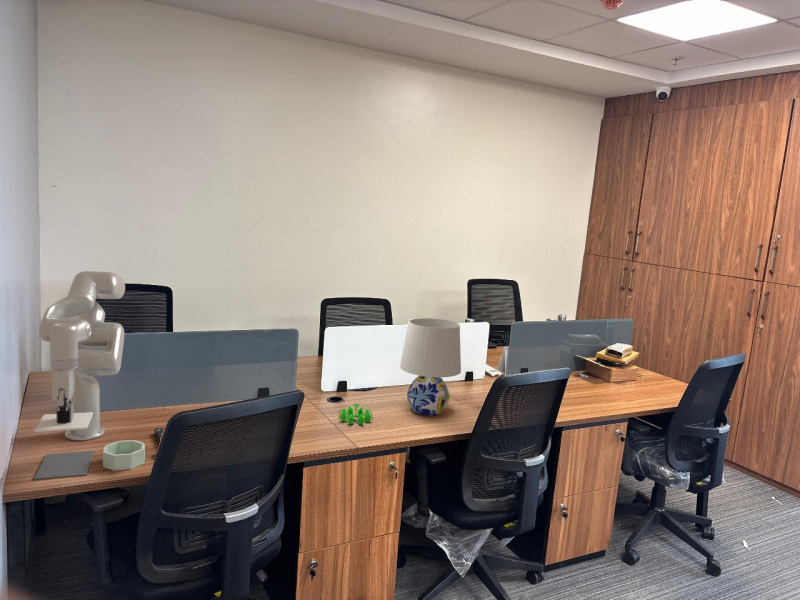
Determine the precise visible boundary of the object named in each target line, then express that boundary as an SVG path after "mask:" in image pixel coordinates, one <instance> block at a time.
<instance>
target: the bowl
mask: <svg viewBox="0 0 800 600" xmlns="http://www.w3.org/2000/svg"><path fill="white" fill-rule="evenodd" d="M145 451H146V442H142V441H138V440H135V439H129V440H116V441H114V442H112V443H110V444H107V445H104V448H103V451H102V467H103V468H104V469H108V470H111V471H115V472H116V471H127V469H129V470H133V469H135V468H137V466H138V467H139V465H140V466H142V465H145V459H146V452H145ZM141 464H142V465H141Z"/></svg>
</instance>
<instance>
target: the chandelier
mask: <svg viewBox="0 0 800 600" xmlns="http://www.w3.org/2000/svg"><path fill="white" fill-rule="evenodd" d="M353 406H354V407H355V413H354V408H353ZM353 406H348V407H347V408H341V409H340V410H339V411H338V420H339V421H340V422H341V421H342V422H347V421H348V422H347V424H348V425H349V426H351V425H354V419H355V418H357V419H358V420H357V422H358V425H361V426H363V425H364V423H369V422H370V423H372V421H373V419H374V417H373V412H372V410H370V409H365V410H363V406H360V404H359V403H354V404H353ZM359 406H360V407H359ZM357 407H359V408H358V409H357ZM364 421H365V422H364Z"/></svg>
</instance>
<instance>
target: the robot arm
mask: <svg viewBox="0 0 800 600" xmlns="http://www.w3.org/2000/svg"><path fill="white" fill-rule="evenodd" d="M125 291H126V284H125V280H124V279H123V277H122V276H120V275H118V274H117V273H115V272H111V271H92V270H91V271H89V270H87V271H86V270H85V271H80V272H78V273H77V274H76V275H75V276H74V278H73V280H72V283H71V285H70V288H69V291H68V293H67V296H66V297H64V298H62V299H60V300H58V301H56V302H55V303H53V304H51V305H50V306H49V307H47V308H46V310H45V312H44V313H43V316H42V318H41V320H40V324H39V328H38V334H39V337H40V339H41V340H42V341H44V342H48V343H49V363H50V365H49V367H50V368H49V369H50V370H51V371H53V373H52V382H51V383H52V384H51V386H52V388H51V390H52V393H51V401H52V402H53V403H55V402H56V401H57V406H58V411H57V413H58V423H68V422H69V421H70V410H68V405H69V403H73V413H87V412H93V415H92V418H91V420H90V423H89V425H88V428H87V429H81V430H65V431H64V437H65V439H68V440H71V441H88V440H93V439H97V438H99V437H101V436H103V435H104V434H105V431H106V429H105V428H104V427H103V426H101V425H100V424H101V421H100V420H101V419H100V417H101V413H100V409H101V408H100V402H101V401H100V400H101V399H100V390H101V389H100V384H99V382H98V380H97V379H96V378H95V377H94V376H114V375H117V374H119V372H120V370H121V366H122V362H123V361H122V359H123V353H124V351H123V350H124V344H125V330H124V327H123V325H122V324H121V323H118V322H111V321H110V322H105V319H106V318H105V317H106V312H105V310H104V308H103V307H102V306H101V305H100V304H99V303H98V302H97V301H96V299H97V300H99V299H101V300H103V299H104V300H118V299H119V300H121V298H123V296H124V295H125ZM74 317H78V318H74ZM79 347H80V348H79ZM65 403H66V404H65Z"/></svg>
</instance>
